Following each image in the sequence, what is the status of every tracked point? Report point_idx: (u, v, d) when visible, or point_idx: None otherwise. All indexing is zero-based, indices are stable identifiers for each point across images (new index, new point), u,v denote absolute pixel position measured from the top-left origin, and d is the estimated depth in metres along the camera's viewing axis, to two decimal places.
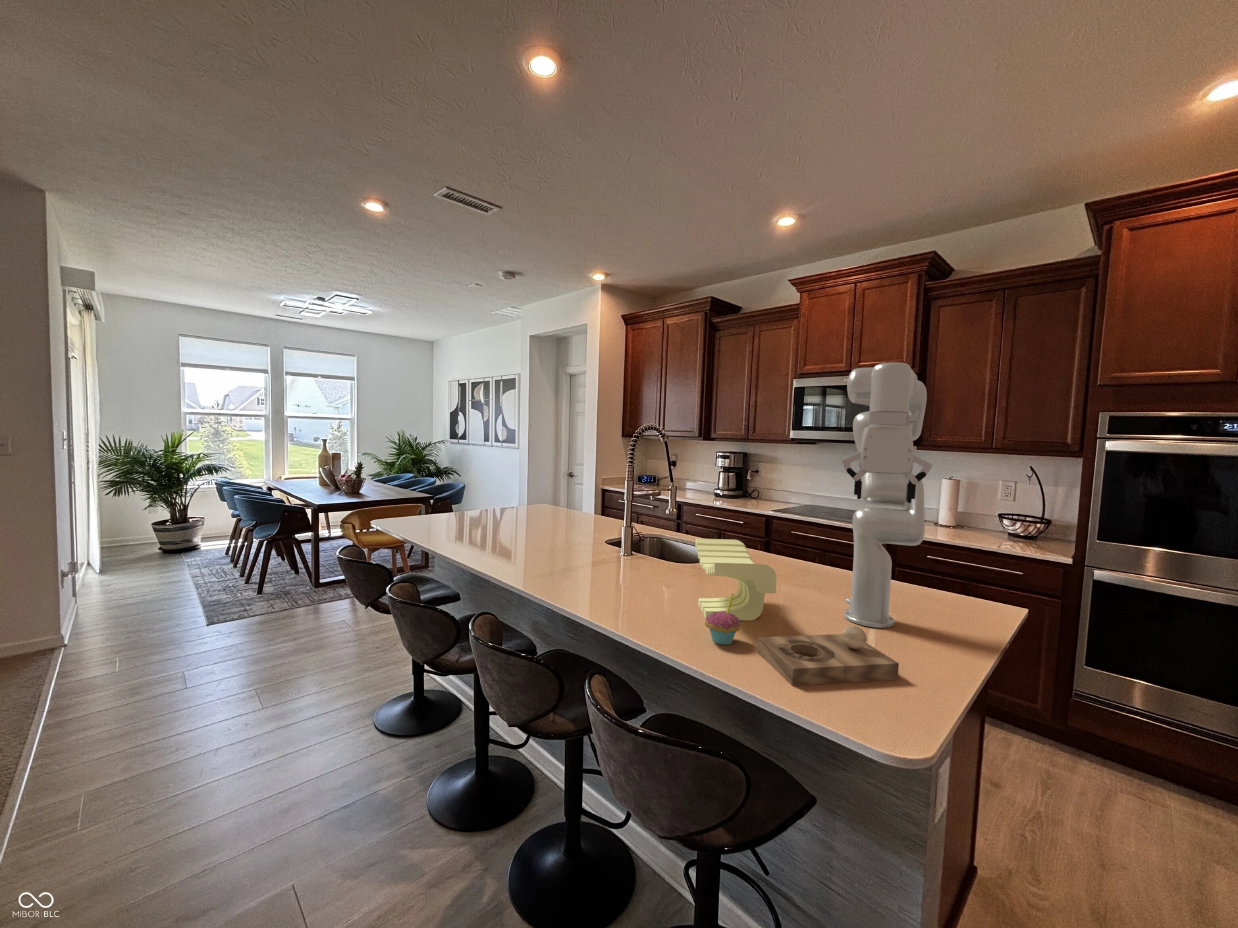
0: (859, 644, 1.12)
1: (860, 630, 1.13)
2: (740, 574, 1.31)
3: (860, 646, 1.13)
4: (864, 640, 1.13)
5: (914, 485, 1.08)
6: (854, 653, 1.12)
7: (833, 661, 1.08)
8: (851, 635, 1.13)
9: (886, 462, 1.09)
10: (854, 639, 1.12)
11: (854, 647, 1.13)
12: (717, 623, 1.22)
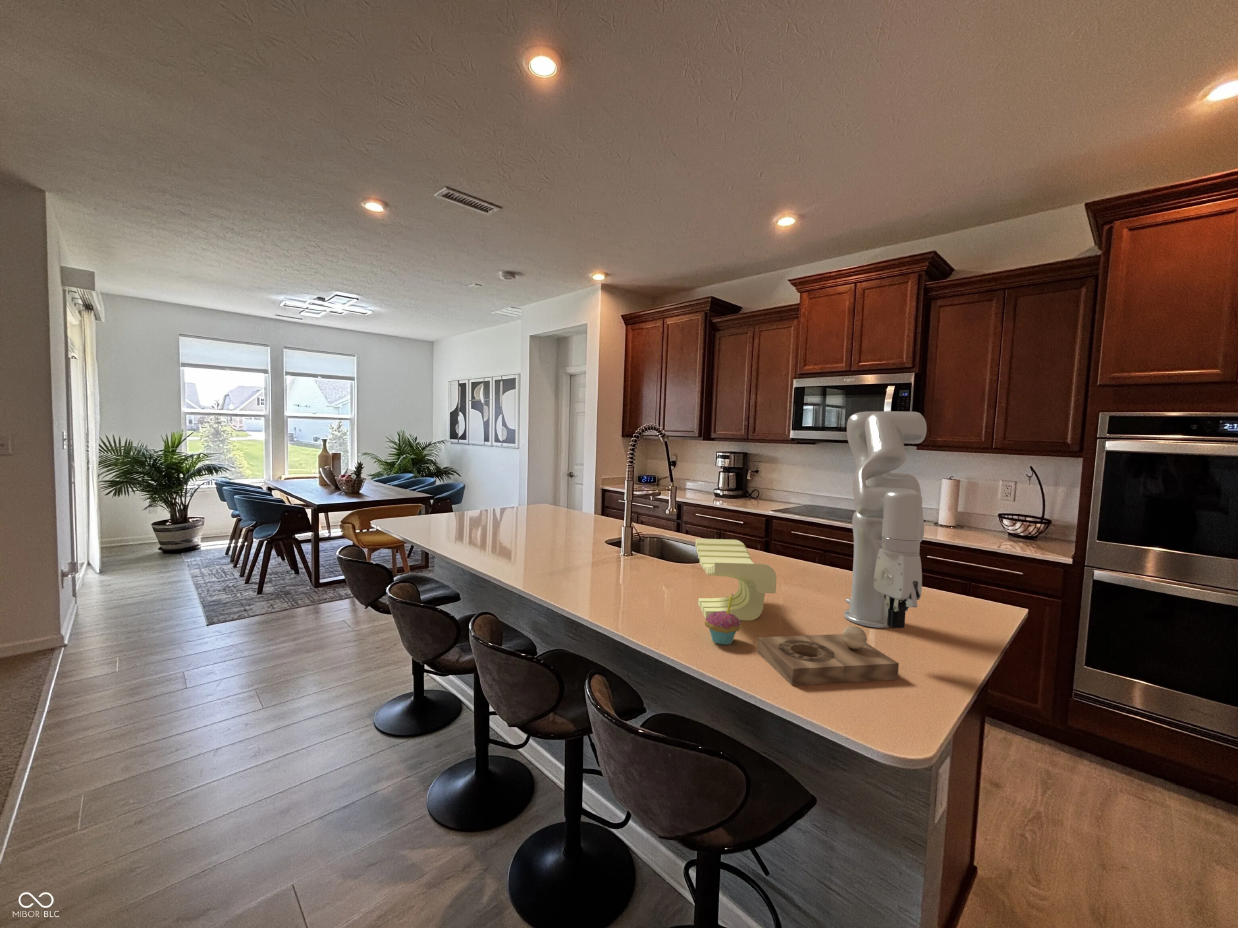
0: (859, 644, 1.12)
1: (860, 630, 1.13)
2: (740, 574, 1.31)
3: (860, 646, 1.13)
4: (864, 640, 1.13)
5: None
6: (854, 653, 1.12)
7: (833, 661, 1.08)
8: (851, 635, 1.13)
9: None
10: (854, 639, 1.12)
11: (854, 647, 1.13)
12: (717, 623, 1.22)
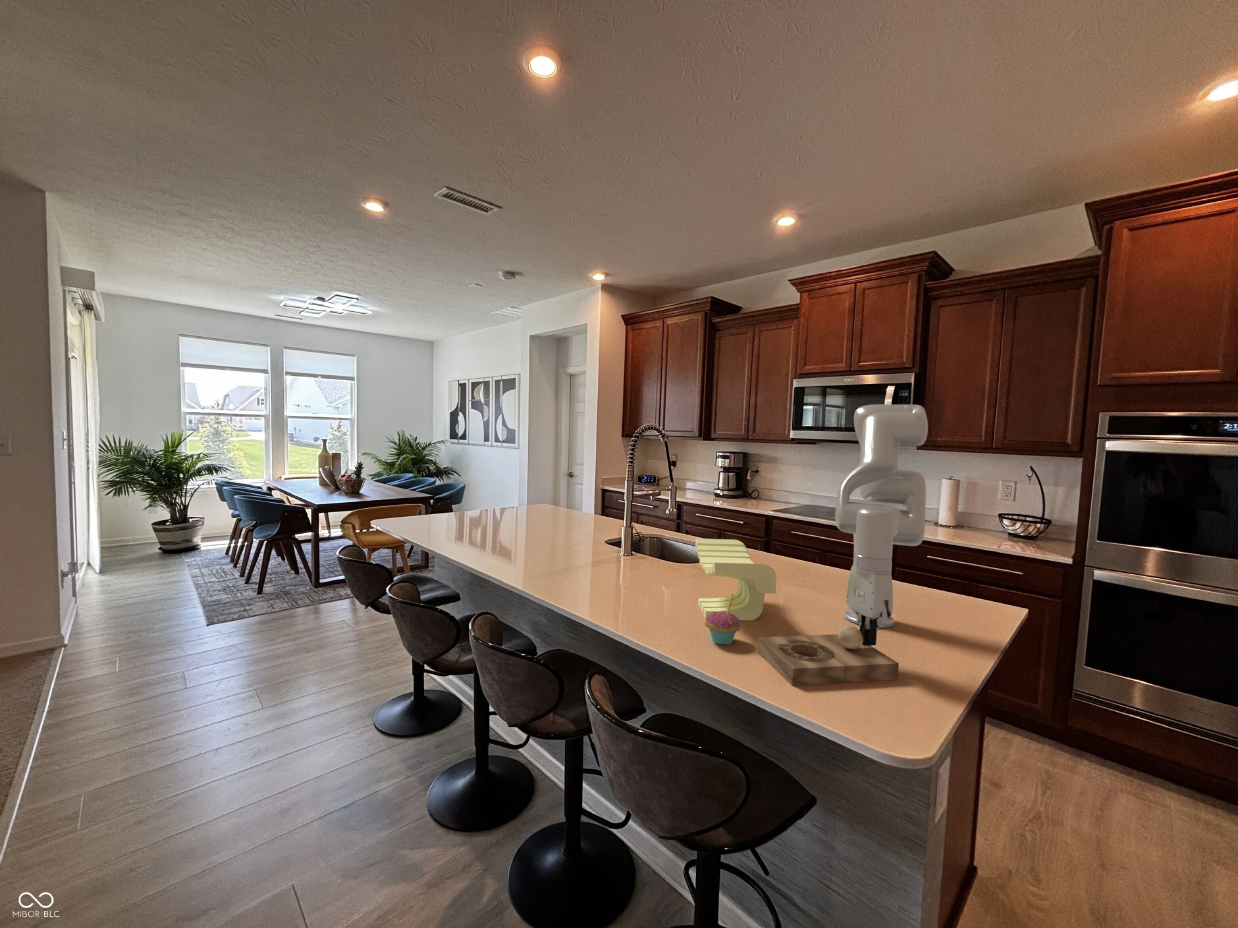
0: (856, 645, 1.12)
1: (854, 630, 1.13)
2: (740, 574, 1.31)
3: (858, 646, 1.12)
4: (860, 639, 1.12)
5: None
6: (854, 653, 1.12)
7: (833, 661, 1.08)
8: (846, 638, 1.13)
9: None
10: (850, 642, 1.12)
11: (853, 648, 1.13)
12: (717, 623, 1.22)
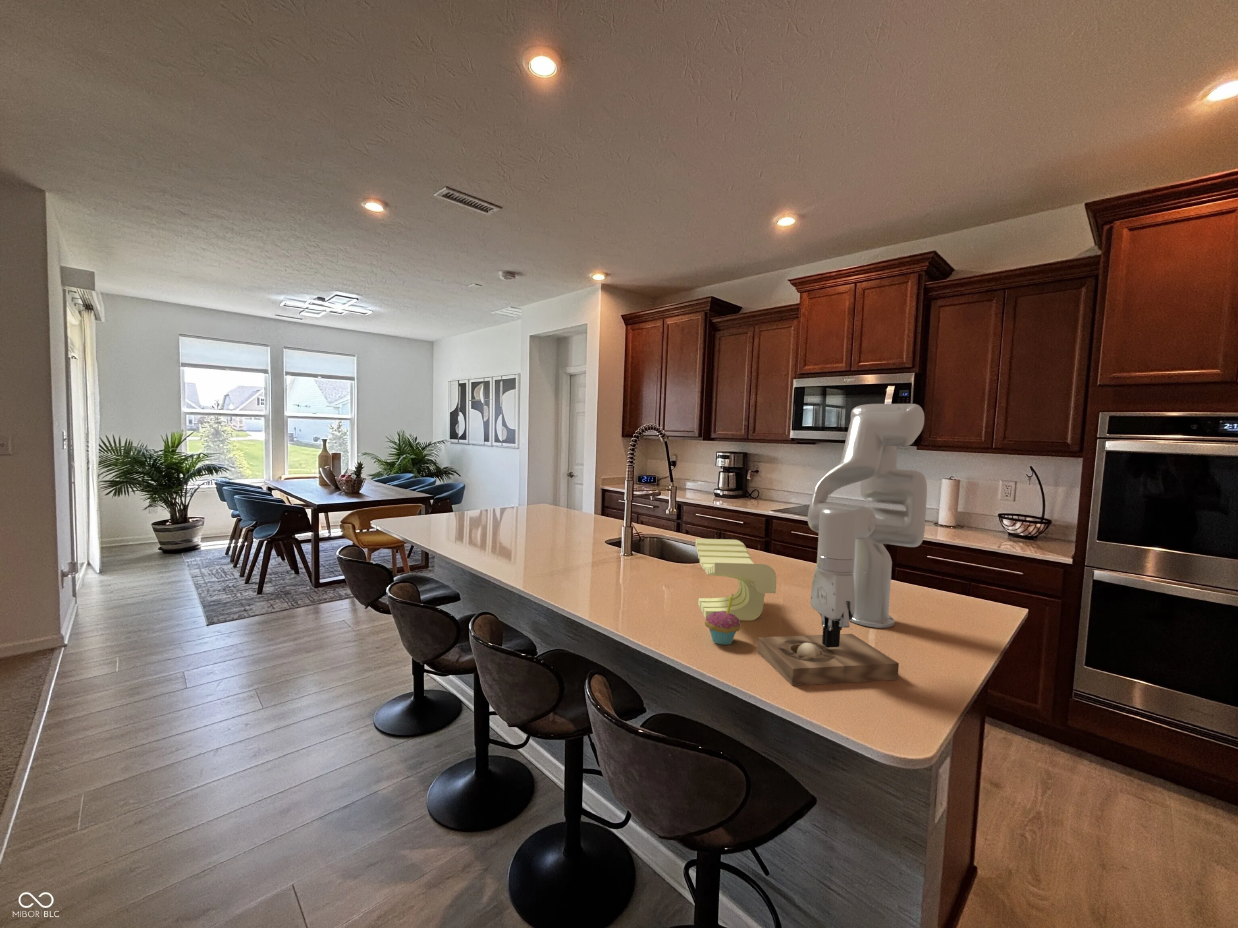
0: (812, 649, 1.11)
1: (820, 654, 1.13)
2: (740, 574, 1.31)
3: (810, 652, 1.11)
4: (817, 655, 1.11)
5: None
6: (854, 653, 1.12)
7: (833, 661, 1.08)
8: None
9: None
10: (812, 645, 1.12)
11: (805, 648, 1.12)
12: (717, 623, 1.22)
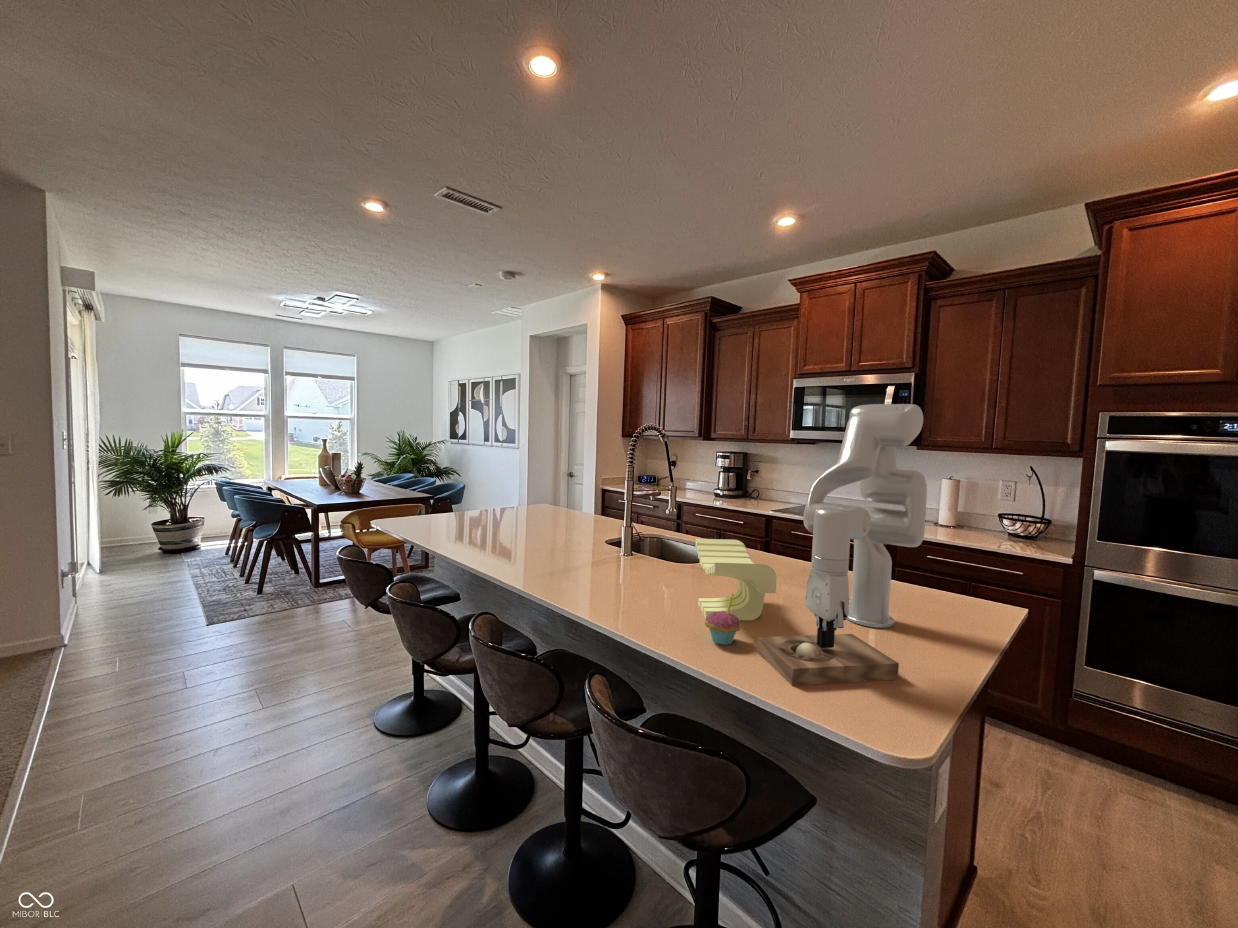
0: (810, 649, 1.11)
1: (819, 653, 1.13)
2: (740, 574, 1.31)
3: (808, 652, 1.11)
4: (815, 654, 1.11)
5: None
6: (854, 653, 1.12)
7: (833, 661, 1.08)
8: None
9: None
10: (810, 644, 1.12)
11: (803, 648, 1.12)
12: (717, 623, 1.22)
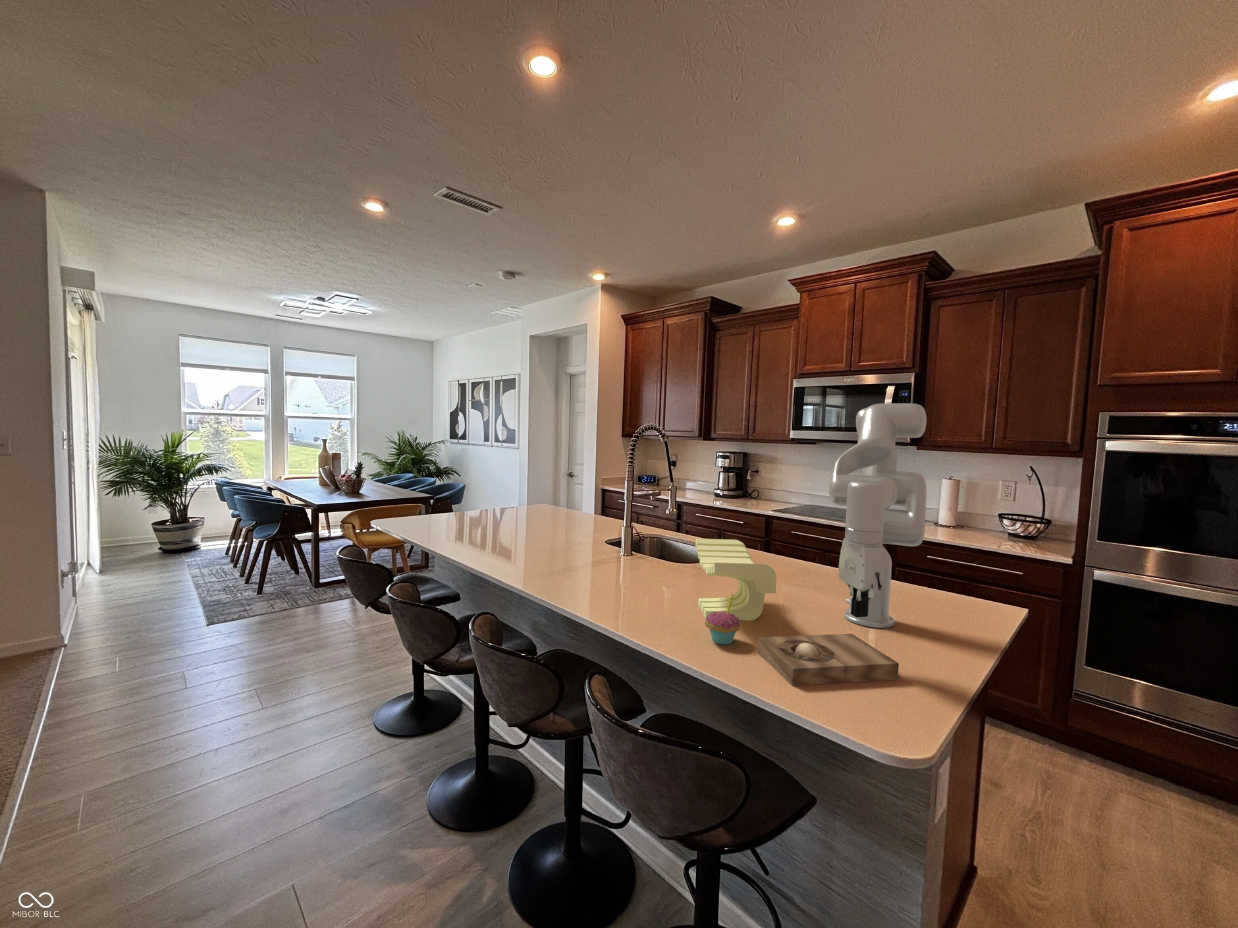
0: (808, 649, 1.11)
1: (818, 652, 1.12)
2: (740, 574, 1.31)
3: (807, 652, 1.11)
4: (814, 654, 1.11)
5: None
6: (854, 653, 1.12)
7: (833, 661, 1.08)
8: (809, 643, 1.13)
9: None
10: (809, 644, 1.12)
11: (802, 649, 1.12)
12: (717, 623, 1.22)
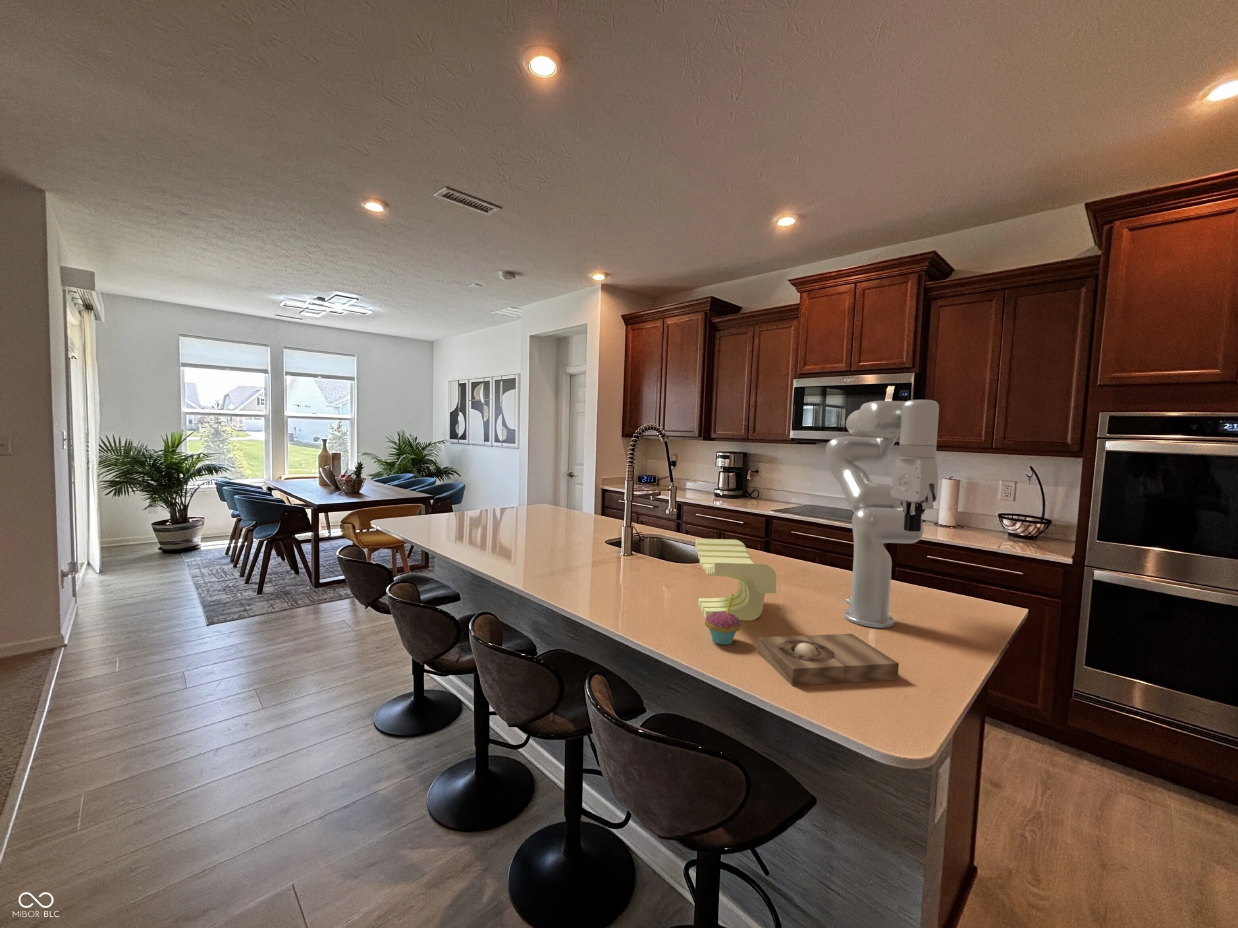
0: (807, 650, 1.11)
1: None
2: (740, 574, 1.31)
3: (805, 653, 1.11)
4: (813, 654, 1.11)
5: None
6: (854, 653, 1.12)
7: (833, 661, 1.08)
8: (807, 643, 1.13)
9: None
10: (807, 644, 1.12)
11: (800, 650, 1.12)
12: (717, 623, 1.22)
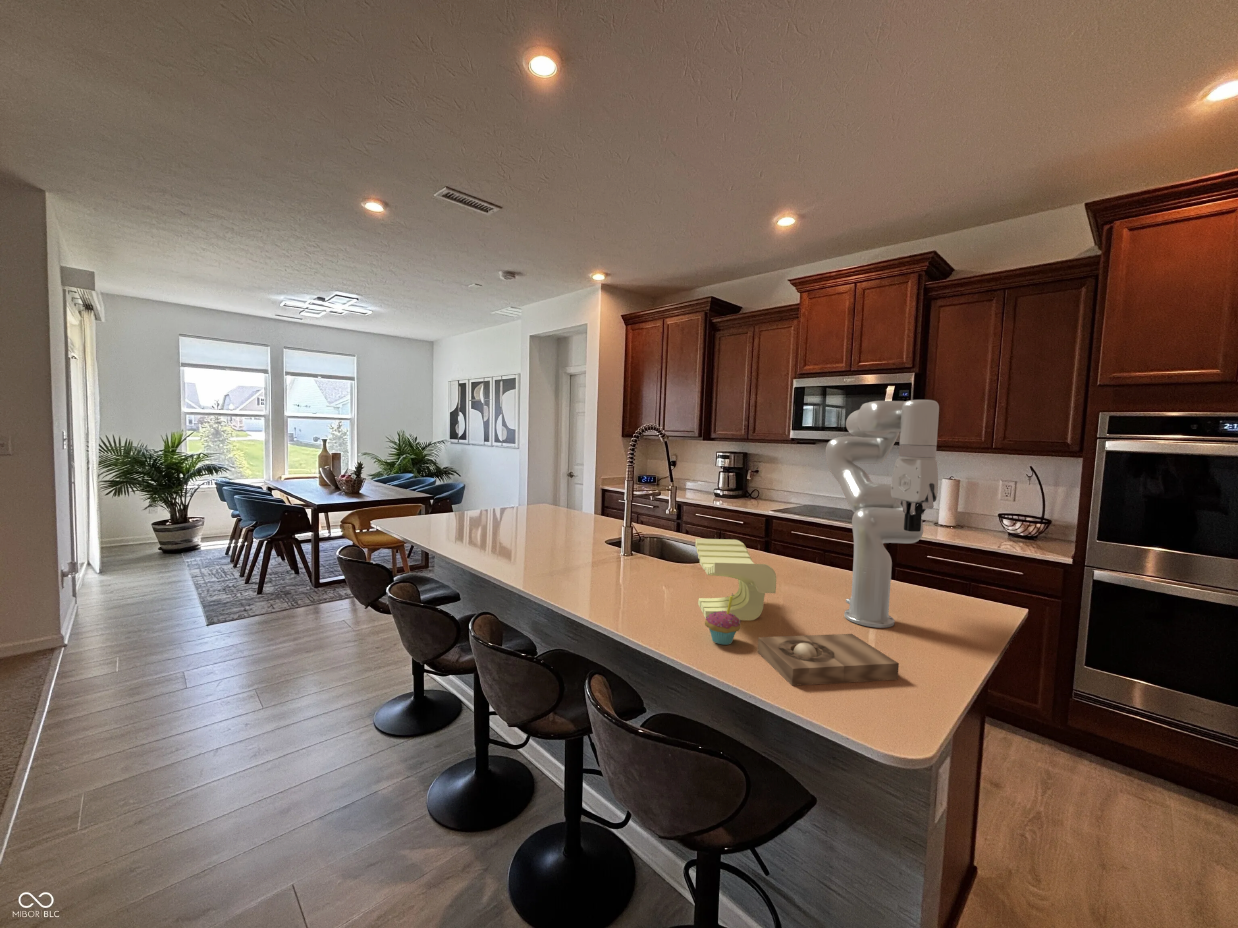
0: (805, 650, 1.11)
1: (815, 651, 1.12)
2: (740, 574, 1.31)
3: (804, 653, 1.11)
4: (811, 654, 1.11)
5: None
6: (854, 653, 1.12)
7: (833, 661, 1.08)
8: (806, 643, 1.13)
9: None
10: (805, 645, 1.12)
11: (799, 650, 1.12)
12: (717, 623, 1.22)
